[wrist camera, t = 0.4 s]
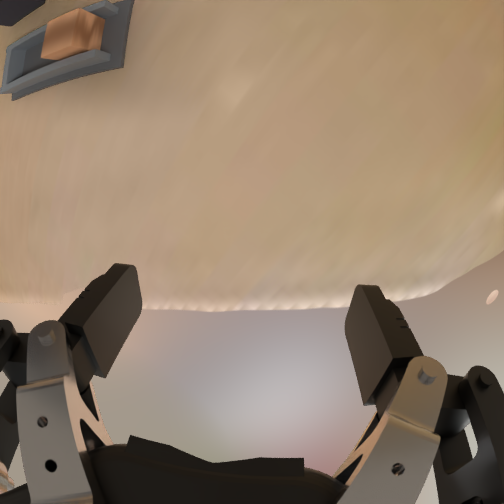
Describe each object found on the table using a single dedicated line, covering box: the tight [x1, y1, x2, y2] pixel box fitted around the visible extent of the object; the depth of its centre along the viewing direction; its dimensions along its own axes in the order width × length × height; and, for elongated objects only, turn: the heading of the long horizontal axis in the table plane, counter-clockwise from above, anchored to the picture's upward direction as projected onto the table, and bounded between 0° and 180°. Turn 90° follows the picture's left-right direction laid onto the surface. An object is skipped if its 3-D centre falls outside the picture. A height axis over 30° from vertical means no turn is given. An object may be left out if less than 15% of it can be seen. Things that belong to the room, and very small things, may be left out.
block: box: [41, 8, 105, 61], centre depth 22 cm, size 6×6×7 cm
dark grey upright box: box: [0, 0, 45, 26], centre depth 13 cm, size 11×4×15 cm, turn 90°
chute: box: [0, 0, 134, 101], centre depth 24 cm, size 12×26×5 cm, turn 86°
